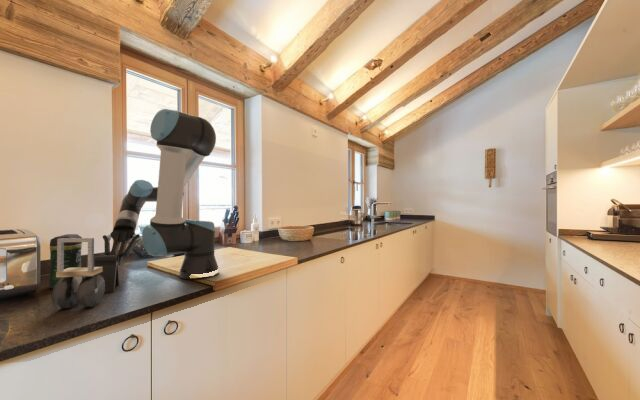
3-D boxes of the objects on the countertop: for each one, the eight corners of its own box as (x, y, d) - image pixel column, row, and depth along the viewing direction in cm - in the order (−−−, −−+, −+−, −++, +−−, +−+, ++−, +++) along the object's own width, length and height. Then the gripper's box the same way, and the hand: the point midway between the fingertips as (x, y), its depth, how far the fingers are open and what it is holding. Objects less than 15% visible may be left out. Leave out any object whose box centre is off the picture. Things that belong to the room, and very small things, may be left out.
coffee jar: (73, 288, 97) (74, 235, 97) (44, 290, 94) (45, 236, 94) (85, 280, 106) (85, 232, 106) (58, 282, 103) (59, 233, 103)
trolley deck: (102, 271, 84) (102, 266, 84) (92, 276, 79) (92, 270, 79) (68, 272, 82) (68, 267, 82) (56, 277, 77) (56, 272, 77)
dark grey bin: (113, 292, 93) (113, 257, 93) (91, 294, 91) (91, 258, 91) (120, 284, 101) (120, 252, 101) (100, 286, 99) (100, 253, 99)
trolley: (105, 300, 86) (105, 235, 86) (86, 311, 77) (87, 239, 77) (73, 301, 84) (74, 235, 84) (51, 313, 76) (51, 239, 76)
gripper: (145, 228, 122) (134, 276, 106) (110, 229, 117) (93, 279, 102) (142, 217, 117) (130, 265, 101) (105, 218, 112) (86, 268, 97)
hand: (111, 272), depth 101 cm, fingers closed
